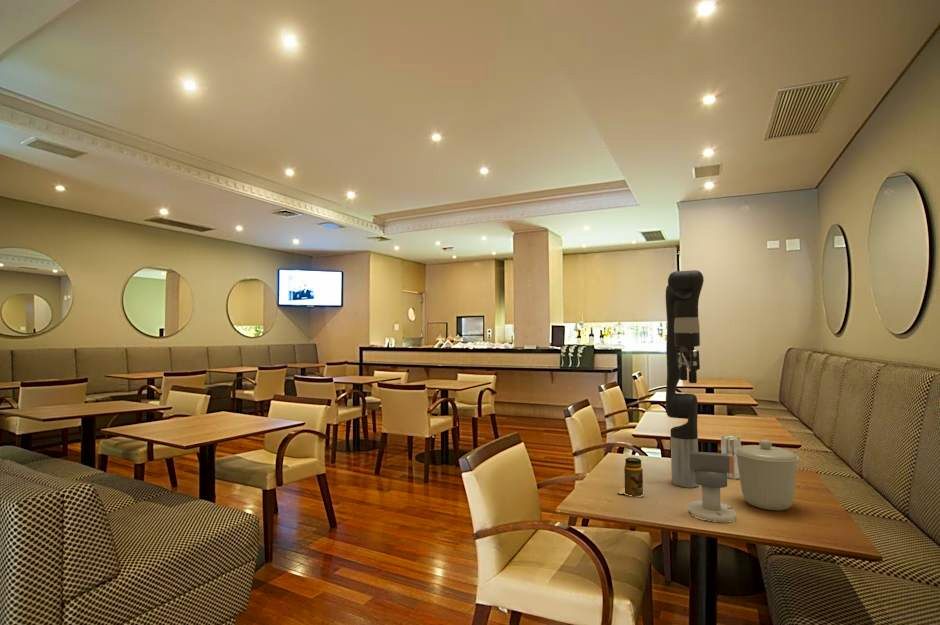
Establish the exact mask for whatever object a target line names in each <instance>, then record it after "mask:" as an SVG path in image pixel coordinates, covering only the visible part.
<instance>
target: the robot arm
mask: <svg viewBox="0 0 940 625" xmlns="http://www.w3.org/2000/svg"><path fill="white" fill-rule="evenodd" d="M704 279H705V278H704V274H703V273H702V272H701V271H700V270H693V269H692V270H677V271H676V270H675V271H673V272H671V273H670V274H669V275H668V279H667V286H666V288H665V311H666V388H665V389H666V390H665V412H666V415H667V417H668V418H672V419H684V420H685V419H686V420H687V421H686V423H684V424H681V425H678V426H673V427H672V428H671V429H670V462H671V467H670V468H671V473H670V474H671V484H673V485H675V486H678V487H681V488H689V489H691V488H697V487H699V486H700V485H699V484H697V483H695V471H694V470H690V469H689V459H688V451H694V452H699V444H698V443H699V439H698V438H699V436H698V434H699V433H698V410H699V409H698V408H699V407H698V405H699V402H698V398H697V396H696V395H695V394H694V393H681V392H678V393H677V392H676V391H677V386H678V383H679V381H687V380H688V383H690V384H697V382H698V380H697V379H698V378H697V377H698V376H697V374H698V373H697V372H698V370H700V368H701V364H700V351H699V350H698V349H697V350H696V349H695V347H700V346H701V338H700V337H701V334H700V332H701V331H700V322H699V302H700V301H699V300H700V297H701V292H702V288H703V286H704V285H703V284H704Z"/></svg>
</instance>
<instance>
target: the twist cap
mask: <svg viewBox="0 0 940 625" xmlns="http://www.w3.org/2000/svg"><path fill="white" fill-rule="evenodd" d="M688 459H689V469H690V470H694V471H695V483H697V484H699V486H701V487H702V486H705V487H711V488H720V489H723V488H726V487H728V478H727V473H733V474H734V456H733V455H732V454H724V453H721V452H706V451H698V452H694V451H688Z"/></svg>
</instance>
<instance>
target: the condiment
mask: <svg viewBox="0 0 940 625" xmlns="http://www.w3.org/2000/svg"><path fill="white" fill-rule="evenodd" d="M624 461H625V463H624V468H623V469H624V472H623V473H624V488H625V493H626V494H628V495H632V496H641V495H643V491H644V478H643V471H644V470H643V467H642V460H641V459H640V458H638V457H626V458H625V460H624ZM644 493H645V494H646V492H645V491H644Z"/></svg>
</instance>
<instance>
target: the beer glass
mask: <svg viewBox="0 0 940 625" xmlns="http://www.w3.org/2000/svg"><path fill="white" fill-rule="evenodd" d="M741 446H742V442H741V437H739V436H733V435H721V438H720V451H721V452H720V453H724V454H732V455H733V456H734V474H733V473H727V479H730V480H731V479H732V480H740V476H739V469H738V463H737V455H736V454H735V453H734V450H735V449H738V448H739V447H741Z"/></svg>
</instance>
